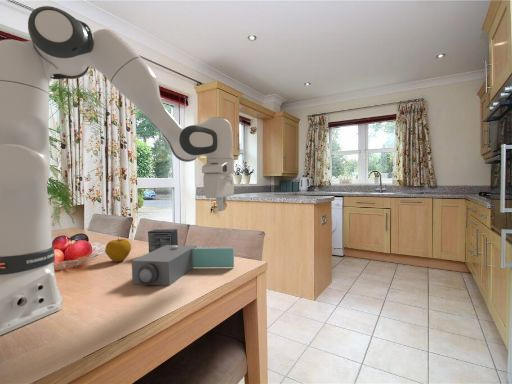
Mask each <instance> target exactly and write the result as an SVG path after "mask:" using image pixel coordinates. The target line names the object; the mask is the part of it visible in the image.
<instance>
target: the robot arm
mask: <svg viewBox="0 0 512 384" xmlns="http://www.w3.org/2000/svg"><path fill="white" fill-rule="evenodd" d="M27 30H28V35H29V37H30V39H29V40H27V41H21V40H16V39H2V40H1V39H0V336H2V335H5V334H7V333H10V332H11V331H14V330H16V329H19V328H21V327H23V326H26V325H28V324H30V323H33V322H35V321H37V320H39V319H42V318H45V317H47V316H49V315H51V314H53V313H55V312H58V311H60V310H62V302H63V301H64V299H63V297H62V294H61V292H60V288H59V285H58V282H57V277H56V274H55V273H56V272H55V267H54V262H55V261H56V260H55V259H56V257H55V248H54V246H53V243H52V242H53V240H52V222H51V210H50V202H49V194H48V182H49V180H50V177H51V155H50V154H51V153H50V150H51V149H50V124H49V123H50V122H49V120H50V111H49V110H50V80H76V79H80V78H82V77H84V76H85V75H86V74H87V73H88V71H89V69H90V68H92V69H95V70H96V71H98V72H99V73H101V74H102V75H103V76H104V77H105V78H106V80H108V81H109V83H110V84H111V85H112V86H113V87H114V88H115V89H116V91H118V92H119V93H120V94H121V95H123V96H124V97H125V98H126V99H127V100H129V102H131V103H132V105H134V106H135V107H136V108H137V109H138V110H139V111H140V112H141V113H142V114H143V115H144V116H145V117H146V118H147V119H148V120H149V122H151V123H152V125H153V126H154V127H155V128H156V129H157V130H158V132H159V133H161V135H162V136H163V137H164V138H165V139H166V141H167V142H168V145H169V147H170V150H171V152H172V154H173V155H174V157H175V158H176V159H178V161H182V162H184V163H185V162H186V163H188V162H189V163H190V162H192V161H196V159H198V158H200V157H206V162H205V164H204V165H202V166H201V173H202V174H203V180H202V181H203V191H204V192H203V193H204V196H205V198H206V199H215V203H216V207H217V211H218V212H224V211H226V203H227V197H230V196H234V193H235V185H234V183H235V181H234V175H233V174H235V157H234V154H233V149H234V146H235V145H234V133H233V127H232V124H231V121H229V120H227V119H226V118H224V117H220V116H211V117H208V118H207V119H206V120H204V121H202V122H200V123H197V124H192V125H188V126H186V127H184V128H183V127H182V126H181V125H180V124H179V123H178V122H177V120H176V119H175V118H174V117H173V116H172V115H171V114H170V112H169V111H168V110H167V109H166V107H165V105H164V103H163V100H162V97H161V92H160V86H159V85H160V84H159V81H158V77H156V74H155V73H154V71H153V70H152V69H151V67H150V66H149V65H148V63H147V62H146V60H144V58H142V57H141V55H140V54H139V53H138V52H137V51H136V50H135V49H134V48H132V46H131V45H130V44H129V43H128V42H127V41H126V40H124V39H123V38H122V37H120V36H119V34H117V33H116V32H114V31H113V30H111V29H106V28H101V29H98V30H95V31H94V32H92V29H91V28H90V27H89V25H88V24H87V23H86V22H83V21H81V20H79V19H77V18H76V17H74V16H73V15H72V14H70V13H68V12H67V11H65V10H63V9H61V8H58V7H54V6H51V5H43V6H39V7H37V8H35V9H34V10H32V11H31V13H30V14H29V17H28V19H27Z"/></svg>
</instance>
